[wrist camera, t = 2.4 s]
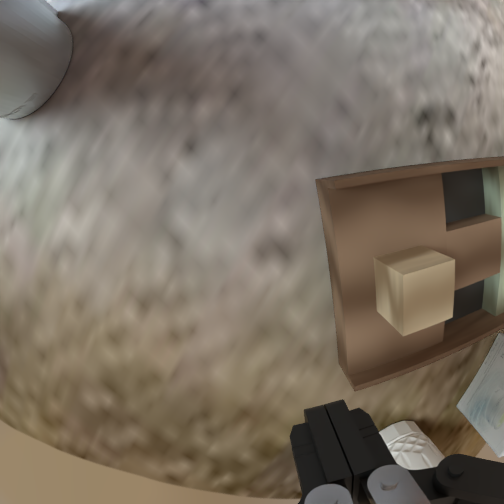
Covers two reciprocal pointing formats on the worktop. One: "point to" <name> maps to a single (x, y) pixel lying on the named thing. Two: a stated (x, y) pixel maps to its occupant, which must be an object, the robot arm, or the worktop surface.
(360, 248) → the box
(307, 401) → the worktop surface
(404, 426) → the white cup
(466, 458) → the robot arm
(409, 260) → the maple block
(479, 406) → the skincare box
